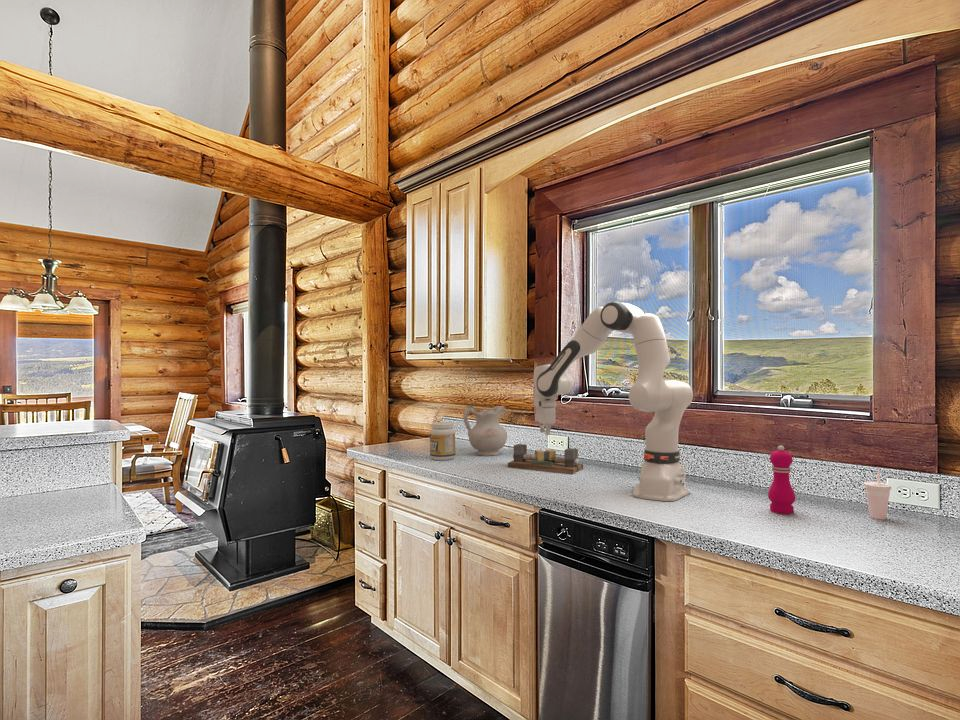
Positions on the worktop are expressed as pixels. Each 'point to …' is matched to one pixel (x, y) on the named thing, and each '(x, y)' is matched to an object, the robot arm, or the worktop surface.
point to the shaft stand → (546, 461)
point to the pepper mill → (781, 483)
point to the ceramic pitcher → (486, 430)
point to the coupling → (545, 455)
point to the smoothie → (877, 498)
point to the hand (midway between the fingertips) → (545, 433)
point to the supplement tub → (442, 441)
